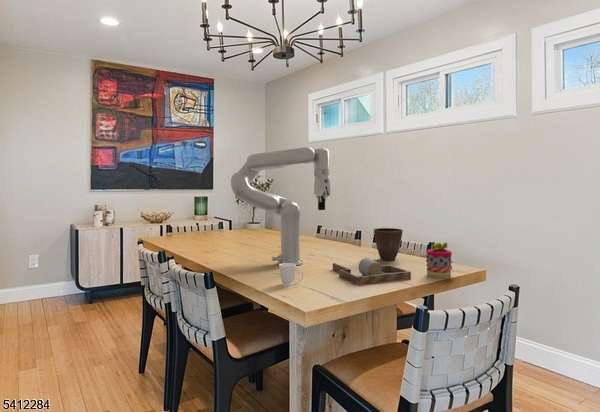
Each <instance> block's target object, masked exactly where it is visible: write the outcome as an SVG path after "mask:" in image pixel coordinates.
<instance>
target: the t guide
mask: <svg viewBox="0 0 600 412" xmlns="http://www.w3.org/2000/svg"><path fill="white" fill-rule="evenodd" d="M381 267H382V272H384V273H385V274H379V275H370V276H365V275H362V276H359V275H355V274H353V273H351V271H352V270H351V269H350V268H348V267H345V266H343V265H340V264H338V263H336V262H334V263H332V271H334V272H338V274H339V278H341V279H344V280H345V281H348V282H350V283H352V284H354V285H357V286H362V285H369V284H377V283H378V284H379V283H386V282H394V281H395V282H396V281H403V280H411V278H412V277H411V276H412V271H410V270H407V269H403V268H400V267H397V266H394V265H391V264H388V265H387V264H385V265H381Z"/></svg>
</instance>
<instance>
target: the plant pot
mask: <svg viewBox="0 0 600 412" xmlns="http://www.w3.org/2000/svg"><path fill="white" fill-rule="evenodd" d="M373 234H374V235H373V236H374V240H375V245H376V249H377V252H378V255H379V258H380V260H381V261H384V262H385V261H386V262H393V261H395V260H396V258H397V256H398V253H399V250H400V246H401V243H402V237H403V229H402V228H395V227H393V228H392V227H391V228H389V227H385V228H384V227H382V228H374V229H373Z"/></svg>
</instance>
